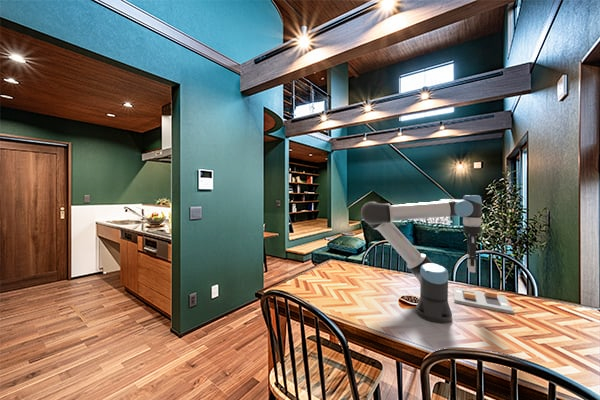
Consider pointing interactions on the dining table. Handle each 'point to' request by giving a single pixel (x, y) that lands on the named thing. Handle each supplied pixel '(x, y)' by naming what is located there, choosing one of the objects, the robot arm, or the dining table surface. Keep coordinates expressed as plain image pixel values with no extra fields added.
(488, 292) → the tab
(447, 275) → the robot arm
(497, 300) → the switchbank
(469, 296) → the tab
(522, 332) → the dining table surface
